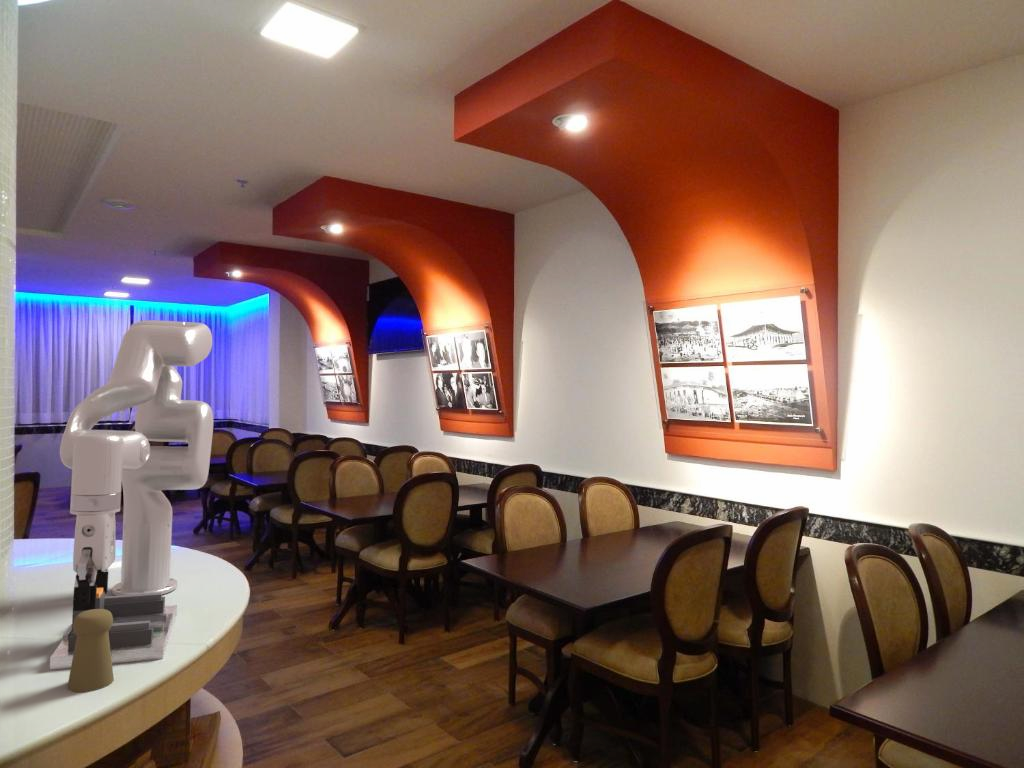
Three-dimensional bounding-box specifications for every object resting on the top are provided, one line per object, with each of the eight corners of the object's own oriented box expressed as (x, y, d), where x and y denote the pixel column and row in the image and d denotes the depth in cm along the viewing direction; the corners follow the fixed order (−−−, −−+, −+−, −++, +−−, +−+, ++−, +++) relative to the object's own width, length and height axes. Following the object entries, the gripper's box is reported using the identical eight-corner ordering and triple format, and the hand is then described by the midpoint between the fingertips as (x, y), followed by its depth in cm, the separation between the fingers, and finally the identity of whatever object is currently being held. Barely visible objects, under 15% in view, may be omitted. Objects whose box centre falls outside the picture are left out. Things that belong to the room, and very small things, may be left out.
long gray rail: (93, 614, 126) (93, 596, 126) (164, 608, 130) (165, 591, 130) (67, 651, 109) (68, 630, 109) (151, 643, 113) (151, 623, 113)
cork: (91, 694, 99) (94, 619, 99) (57, 689, 100) (60, 615, 100) (123, 677, 105) (125, 607, 105) (90, 672, 106) (92, 603, 106)
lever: (77, 627, 119) (78, 588, 119) (103, 625, 120) (104, 587, 120) (71, 635, 115) (73, 595, 115) (98, 632, 116) (100, 593, 116)
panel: (82, 622, 127) (83, 608, 127) (176, 615, 133) (177, 601, 133) (49, 669, 106) (50, 652, 106) (162, 658, 112) (163, 641, 112)
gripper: (110, 510, 111) (105, 614, 110) (128, 496, 127) (124, 587, 126) (57, 511, 108) (51, 618, 108) (82, 497, 124) (77, 590, 124)
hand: (90, 601), depth 117 cm, fingers open, 9 cm apart
